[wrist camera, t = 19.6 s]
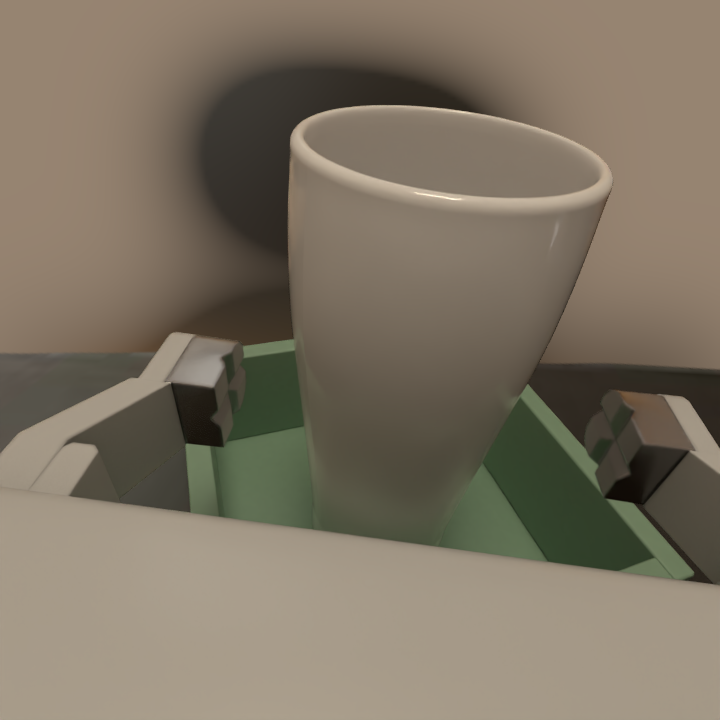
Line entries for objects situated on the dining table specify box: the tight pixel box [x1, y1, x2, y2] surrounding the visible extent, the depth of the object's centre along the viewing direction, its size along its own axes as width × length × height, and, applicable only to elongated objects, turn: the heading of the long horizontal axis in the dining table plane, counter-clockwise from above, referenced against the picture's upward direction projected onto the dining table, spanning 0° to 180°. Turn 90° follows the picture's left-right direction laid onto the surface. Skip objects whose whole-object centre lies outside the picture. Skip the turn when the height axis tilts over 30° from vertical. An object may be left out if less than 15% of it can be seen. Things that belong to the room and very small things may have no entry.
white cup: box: [288, 105, 613, 547], centre depth 14 cm, size 7×7×15 cm
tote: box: [185, 339, 694, 581], centre depth 18 cm, size 14×14×6 cm
